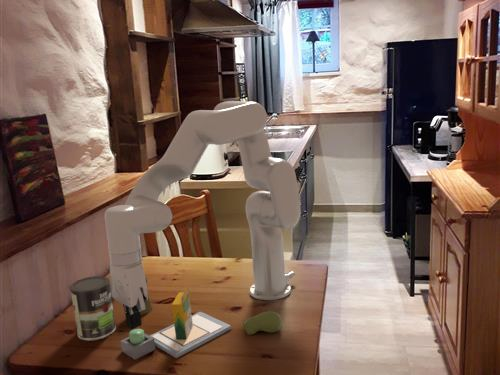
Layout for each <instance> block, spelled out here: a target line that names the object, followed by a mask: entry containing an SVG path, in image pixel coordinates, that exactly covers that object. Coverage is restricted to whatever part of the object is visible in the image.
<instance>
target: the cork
mask: <svg viewBox="0 0 500 375" xmlns="http://www.w3.org/2000/svg"><path fill="white" fill-rule="evenodd" d="M145 279H146V285H147V284H148V277H147V275H146V274H145ZM147 293H148V299H147V301H146V302H144V303H145V309H144V310H141V311H140V315H141V316H142V315H145V314H148V313H150V312H152V310H153V306H152V302H151V298H150V295H149V292H148V290H147Z"/></svg>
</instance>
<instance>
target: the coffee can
mask: <svg viewBox="0 0 500 375" xmlns="http://www.w3.org/2000/svg"><path fill="white" fill-rule="evenodd" d="M110 284H111V283H110V278H108V277H107V276H100V275H99V276H98V275H95V276H88V277H84V278H81V279H78V280H76V281H74V282H72V283H71V284H70V286H69V290H70V293H71V301H72V307H73V313H74V319H75V326H76V330H77V333H76V334H77V337H78V339H79V340H82V341H87V342H88V341H89V342H90V341H99V340H100V339H101V340H102V339H104V338H107V337H109V336H111V335H110V334H113V333H114V332H115V331H116V330H117V327H116V326H117V325H116V321H115V320H116V319H115V314H114V305H113V303H112V298H111V291H110Z"/></svg>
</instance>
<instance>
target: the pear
mask: <svg viewBox="0 0 500 375" xmlns="http://www.w3.org/2000/svg"><path fill="white" fill-rule="evenodd" d="M242 323H243V329H244V331H245V332H246V335H249V336H251V335H252V336H253V335H255V334H256V333H258V332H266V333H276V332H278V331H279V330H280V329H281V327H282V317H281V315H280V314H279V313H278V312H276V311H273V310H272V311H271V310H269V311H264V312H261V313H259V314H257V315H255V316H250V317H249V318H248V317H247V319H246V320H244V321H243V322H242Z"/></svg>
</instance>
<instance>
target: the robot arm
mask: <svg viewBox="0 0 500 375" xmlns="http://www.w3.org/2000/svg"><path fill="white" fill-rule="evenodd" d="M267 114H268V113H267V112H266V109H265V107H264V106H263V105H261V104H260V103H258V102H256V101H238V100H237V101H236V100H233V101H232V100H231V101H230V100H229V101H223V102H220V103H218V104H216V106H214V108H213V110H209V109H208V110H207V109H205V110H204V109H199V110H194V111H191V112H190V113H188V114H187V116H186V117H185V119H184V120H183V121H182V123H181V125H180V127H179V129H178V131H177V133H176V134H175V136H174V137H173V139H172V141H171V142H170V144H169V146H168V148H167V150H166V151H165V153H164V154H163V156H162V157H161V158H160V159H159V160H157V162H156V163H154V164H153V165H151V167H150V168H149V169H147V171H146V172H144V173H143V174H142V175H141V176H140V178H139V179H138V180H137V181H136V183H135V185H134V187H132V190H131V192H130V193H129V195H128V197H127V199H126V201H125V204H121V205H120V204H119V205H115V206H111V207H108V208H107V209H106V210H105V212H104V225H105V231H106V232H105V233H106V239H107V240H106V241H107V246H108V247H107V248H108V254H109V255H108V256H109V280H110V284H111V294H112V297H113V298H114V301H117V302H119V303H121V304H122V307H123V308H122V309H123V311H124V313H125V323H126V328H128V329H130V331H132V330H134V329H137V328H139V327H141V326H142V315H140V311H141V310H144V309H145V303H144V302H146V301H147V299H148V294H149V292H148V293H147V291H148V287H147V284H146V279H145V275H146V274H145V270H144V267H143V263H142V262H143V255H142V244H141V238H140V235H141V234H150V233H157V232H161V231H164V230H166V229H167V227H169V226H170V224H171V223H172V219H173V213H172V209H171V208H170V207H169V206H168V205H167V204H166V203H164V202H162V201H159V200H158V198H159V197H160V195H161V194H162V192H163V191H165V189H167V188H168V187H169V186H171V185H172V184H174V183H176V182H179V181H182V180H184V179H186V178H188V177H190V176H191V175H192V174H193V173H194V171H195V170H196V168H197V166H198V164H199V163H200V161H201V159H202V157H203V155H204V154H205V152H206V150H207V148H208V147H209V145H215V146H221V145H225V144H230V143H234V142H235V143H237V146H238V149H239V155H240V159H241V164H242V171H243V175H244V180H245V183H246V184H247V185H248V186H249V187H251V188H252V189H257V191H254V192H252V193H251V194H250V195H249V196H248V197H247V199H246V202H245V215H246V219H247V222H248V226H249V231H250V233H249V234H250V242H251V244H250V245H251V257H252V270H253V284H252V285H251V286H250V287H249V294H250V296H251V297H253V298H255V299H256V300H262V301H276V300H277V301H278V300H280V299H283V298H285V297H288V296H289V295H290V294H291V292H292V287H291V285H290V284H289V283H288V282H289V281H290V280H291V279H294V278H296V274H295V272H294V271H289V272H288V273H286V271H285V270H286V269H285V253H284V237H283V232H282V230H289V229H292V228H294V227H295V226H296V225H297V224H298V223H299V220H300V217H301V201H300V194H299V188H298V181H297V175H296V171H295V168H294V167H293V165H292V164H291V163H290V162H289V161H288V160H287V159H285V158H284V159H283V158H280V157H279V158H278V157H273V156H272V152H271V148H270V144H269V139H268V136H267V134H266V133H267V132H266V131H265V130H264V128H265V127H266V125H267V122H268V121H267V120H268V115H267Z"/></svg>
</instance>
